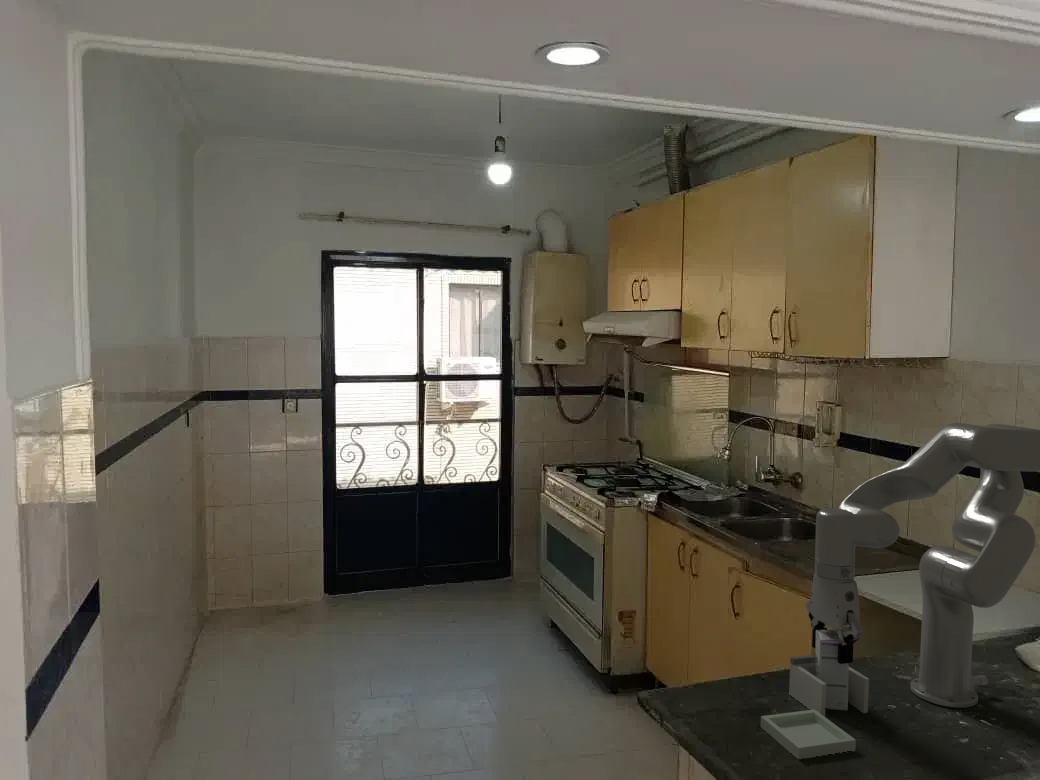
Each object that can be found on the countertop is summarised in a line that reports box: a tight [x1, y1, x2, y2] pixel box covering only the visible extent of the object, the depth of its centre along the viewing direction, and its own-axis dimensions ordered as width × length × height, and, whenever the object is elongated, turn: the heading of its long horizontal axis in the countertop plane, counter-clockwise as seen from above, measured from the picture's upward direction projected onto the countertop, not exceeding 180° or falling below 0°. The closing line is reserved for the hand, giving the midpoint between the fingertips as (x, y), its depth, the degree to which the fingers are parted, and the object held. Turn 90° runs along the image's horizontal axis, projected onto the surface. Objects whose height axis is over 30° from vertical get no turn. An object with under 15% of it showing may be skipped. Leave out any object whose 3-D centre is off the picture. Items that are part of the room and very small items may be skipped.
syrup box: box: [814, 629, 850, 711], centre depth 159 cm, size 6×6×14 cm
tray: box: [759, 709, 857, 760], centre depth 145 cm, size 12×12×2 cm
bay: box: [788, 654, 870, 718], centre depth 159 cm, size 11×10×8 cm
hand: (831, 654), depth 159 cm, fingers closed on syrup box, 7 cm apart
